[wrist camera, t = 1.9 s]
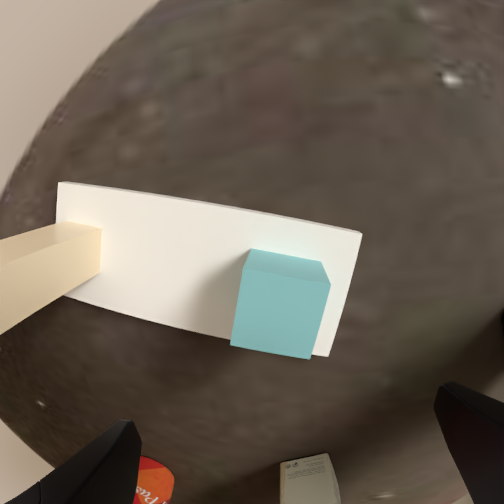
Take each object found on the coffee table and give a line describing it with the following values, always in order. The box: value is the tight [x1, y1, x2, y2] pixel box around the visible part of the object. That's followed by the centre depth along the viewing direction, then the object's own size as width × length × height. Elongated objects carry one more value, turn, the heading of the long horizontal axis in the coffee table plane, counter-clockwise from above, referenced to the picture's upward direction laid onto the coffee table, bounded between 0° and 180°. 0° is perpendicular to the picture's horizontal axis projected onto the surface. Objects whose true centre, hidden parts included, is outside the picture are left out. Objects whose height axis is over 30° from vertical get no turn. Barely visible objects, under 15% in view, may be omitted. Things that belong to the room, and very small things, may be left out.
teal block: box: [230, 248, 331, 359], centre depth 17 cm, size 4×4×4 cm
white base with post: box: [0, 182, 362, 357], centre depth 13 cm, size 20×8×15 cm, turn 80°
